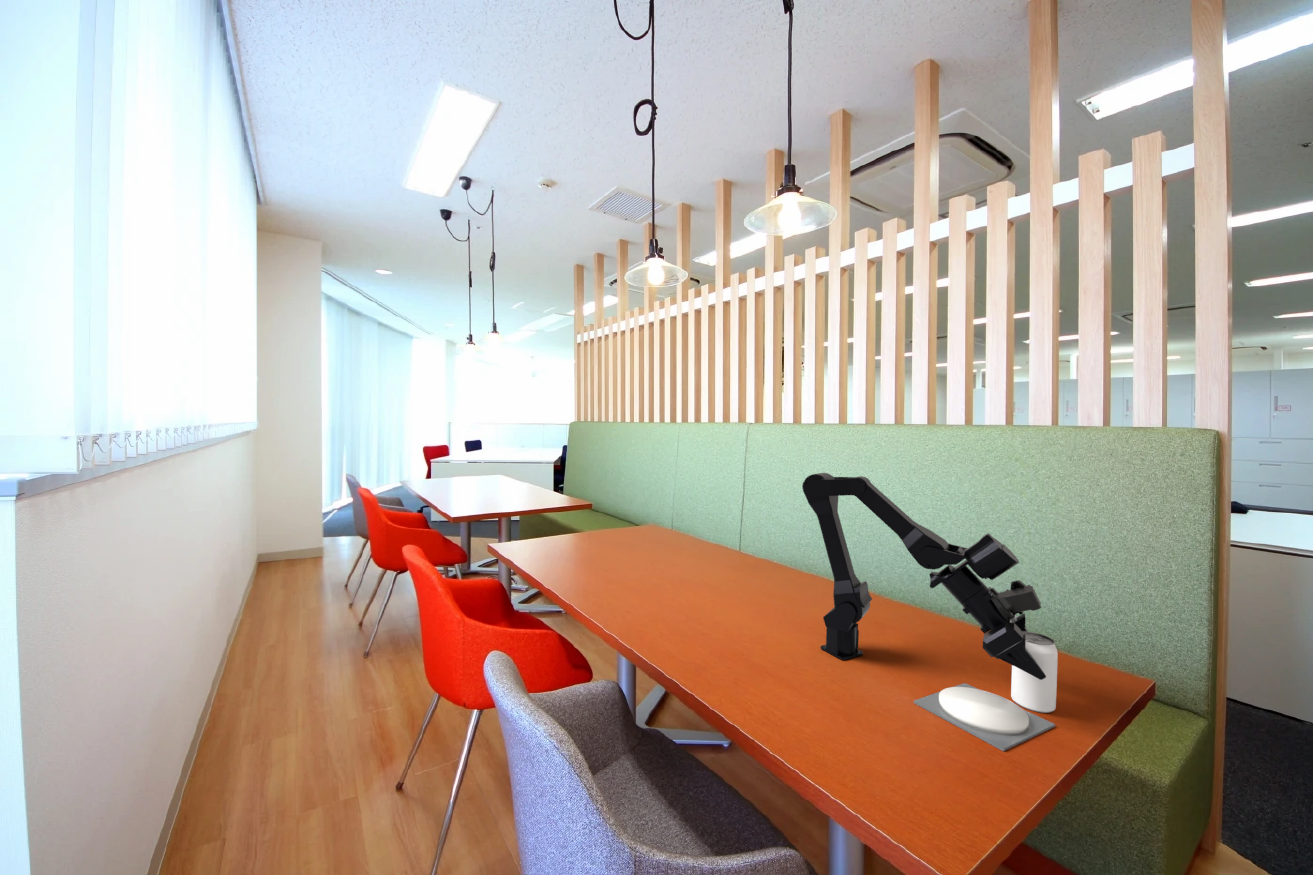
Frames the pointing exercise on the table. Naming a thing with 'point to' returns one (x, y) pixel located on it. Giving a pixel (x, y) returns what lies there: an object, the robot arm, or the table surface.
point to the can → (1030, 688)
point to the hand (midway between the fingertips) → (1042, 668)
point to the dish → (985, 715)
